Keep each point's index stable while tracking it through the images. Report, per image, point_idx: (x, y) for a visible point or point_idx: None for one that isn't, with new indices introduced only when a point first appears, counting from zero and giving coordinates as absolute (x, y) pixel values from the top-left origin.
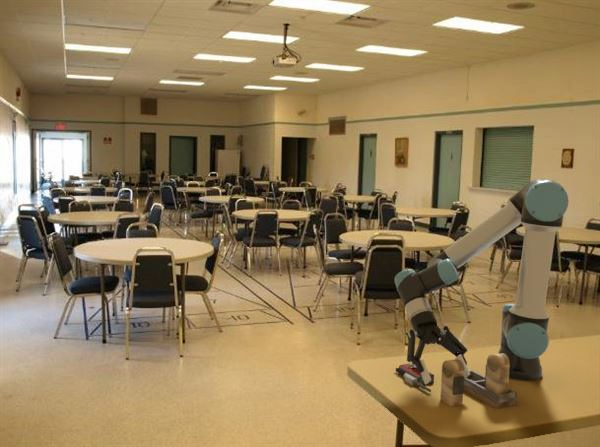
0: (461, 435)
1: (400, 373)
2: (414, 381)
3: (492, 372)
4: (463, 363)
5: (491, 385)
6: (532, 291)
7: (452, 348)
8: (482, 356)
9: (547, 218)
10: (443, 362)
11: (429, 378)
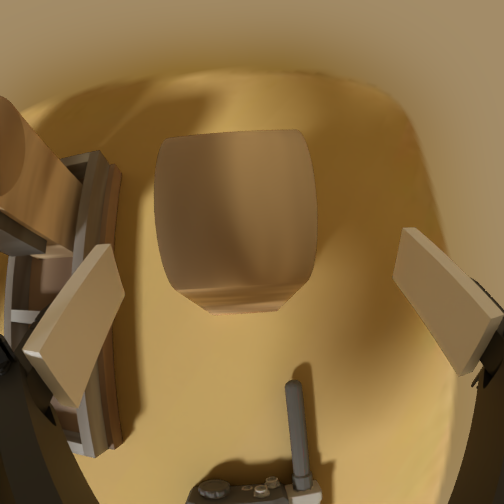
0: (343, 79)
1: None
2: (309, 484)
3: (24, 169)
4: (74, 291)
5: (59, 203)
6: None
7: (45, 443)
8: None
9: None
10: (314, 251)
11: (416, 232)
